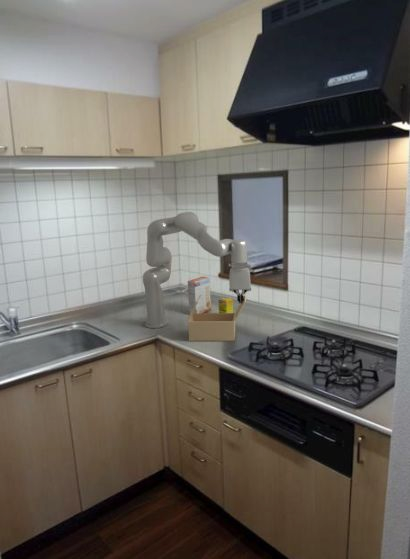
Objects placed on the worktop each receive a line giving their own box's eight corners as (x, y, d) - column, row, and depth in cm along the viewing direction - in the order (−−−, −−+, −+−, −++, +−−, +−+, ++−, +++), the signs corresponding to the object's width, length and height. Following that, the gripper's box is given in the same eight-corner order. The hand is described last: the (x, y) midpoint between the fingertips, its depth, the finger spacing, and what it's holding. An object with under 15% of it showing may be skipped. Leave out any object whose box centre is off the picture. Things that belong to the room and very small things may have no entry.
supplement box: (218, 318, 243) (218, 299, 240) (225, 315, 247) (224, 297, 245) (226, 319, 239) (226, 301, 236) (233, 317, 243) (232, 298, 241)
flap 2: (244, 301, 201) (245, 301, 201) (245, 294, 214) (246, 294, 214) (234, 320, 203) (235, 321, 203) (235, 312, 216) (236, 312, 216)
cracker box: (203, 309, 261) (202, 275, 257) (211, 310, 258) (210, 276, 253) (188, 314, 251) (187, 280, 246) (196, 316, 247) (194, 281, 243)
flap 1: (201, 295, 216) (200, 294, 216) (198, 302, 203) (197, 301, 203) (191, 313, 219) (190, 312, 219) (187, 321, 206) (186, 320, 206)
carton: (189, 341, 208) (188, 322, 205) (193, 331, 221) (192, 313, 219) (234, 341, 205) (233, 321, 203) (235, 331, 219) (234, 313, 217)
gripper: (223, 267, 201) (224, 304, 205) (255, 266, 199) (256, 304, 203) (224, 264, 208) (225, 300, 212) (255, 263, 207) (255, 300, 210)
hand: (240, 302), depth 208 cm, fingers closed
